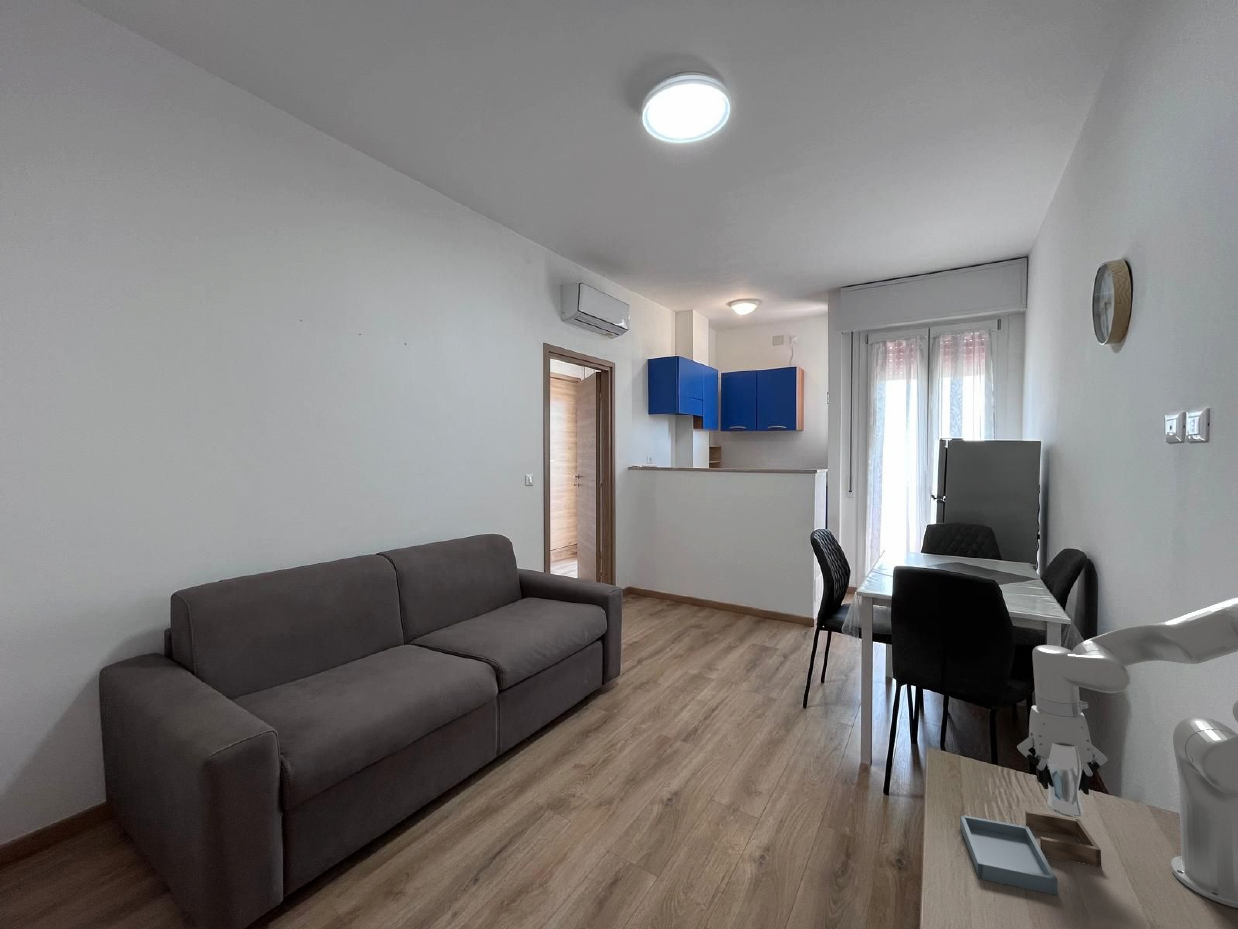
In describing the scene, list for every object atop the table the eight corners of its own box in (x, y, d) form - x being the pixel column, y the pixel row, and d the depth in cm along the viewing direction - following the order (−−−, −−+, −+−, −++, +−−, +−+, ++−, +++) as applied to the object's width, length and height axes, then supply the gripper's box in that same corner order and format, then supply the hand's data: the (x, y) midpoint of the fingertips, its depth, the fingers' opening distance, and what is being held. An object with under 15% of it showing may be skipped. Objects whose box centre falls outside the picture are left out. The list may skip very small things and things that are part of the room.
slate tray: (1028, 840, 118) (1028, 827, 118) (1057, 895, 103) (1057, 879, 103) (960, 827, 122) (959, 814, 122) (978, 878, 107) (978, 863, 107)
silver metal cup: (1049, 814, 114) (1044, 743, 114) (1041, 796, 120) (1036, 729, 121) (1091, 822, 111) (1085, 749, 111) (1081, 803, 117) (1076, 734, 117)
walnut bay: (1080, 835, 119) (1079, 819, 119) (1101, 867, 109) (1100, 850, 109) (1025, 825, 122) (1025, 810, 122) (1042, 855, 113) (1041, 839, 113)
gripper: (1099, 702, 116) (1105, 785, 116) (1004, 694, 123) (1010, 773, 122) (1116, 717, 109) (1123, 805, 109) (1015, 708, 116) (1021, 792, 115)
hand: (1063, 787), depth 116 cm, fingers closed on silver metal cup, 6 cm apart
